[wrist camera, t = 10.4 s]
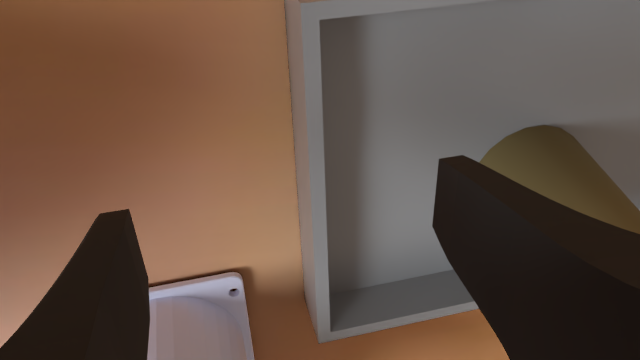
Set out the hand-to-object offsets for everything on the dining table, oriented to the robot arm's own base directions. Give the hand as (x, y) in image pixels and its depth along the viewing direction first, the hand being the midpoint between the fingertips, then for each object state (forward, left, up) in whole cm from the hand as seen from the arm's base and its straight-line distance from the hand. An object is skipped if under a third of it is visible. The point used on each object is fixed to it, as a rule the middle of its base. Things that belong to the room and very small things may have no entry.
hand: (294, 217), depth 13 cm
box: (-5, -13, -10) cm, 17 cm away
